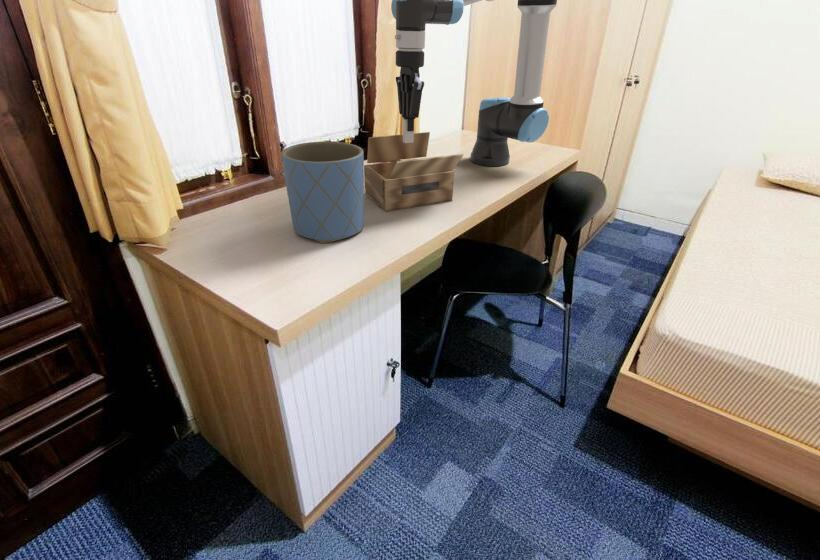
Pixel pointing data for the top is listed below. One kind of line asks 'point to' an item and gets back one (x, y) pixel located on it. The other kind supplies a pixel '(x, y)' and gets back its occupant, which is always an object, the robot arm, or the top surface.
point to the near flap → (425, 166)
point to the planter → (325, 189)
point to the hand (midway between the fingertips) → (408, 142)
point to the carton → (406, 187)
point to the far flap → (396, 147)
